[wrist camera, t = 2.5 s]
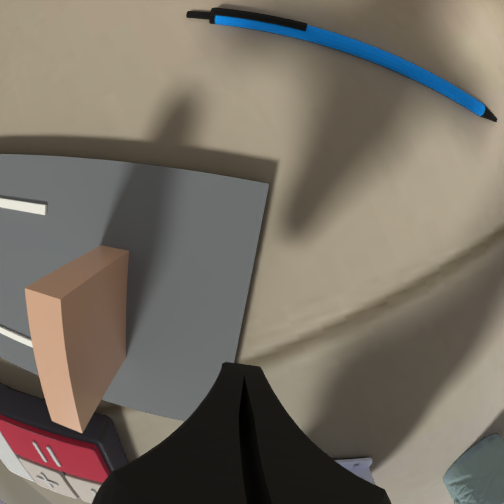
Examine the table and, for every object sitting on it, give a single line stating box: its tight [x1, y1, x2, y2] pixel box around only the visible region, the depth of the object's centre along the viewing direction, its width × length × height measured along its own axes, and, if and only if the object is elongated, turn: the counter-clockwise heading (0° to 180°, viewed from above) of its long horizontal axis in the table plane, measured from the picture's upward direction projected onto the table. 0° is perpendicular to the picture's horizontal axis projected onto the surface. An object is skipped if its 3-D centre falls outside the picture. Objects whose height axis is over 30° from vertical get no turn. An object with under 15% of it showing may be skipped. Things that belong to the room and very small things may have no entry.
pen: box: [186, 8, 498, 122], centre depth 12 cm, size 1×19×1 cm, turn 78°
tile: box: [25, 245, 129, 433], centre depth 11 cm, size 2×6×6 cm, turn 169°
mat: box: [0, 154, 269, 421], centre depth 14 cm, size 18×14×2 cm
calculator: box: [0, 383, 128, 503], centre depth 17 cm, size 11×4×15 cm
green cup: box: [443, 434, 504, 504], centre depth 15 cm, size 10×10×12 cm
